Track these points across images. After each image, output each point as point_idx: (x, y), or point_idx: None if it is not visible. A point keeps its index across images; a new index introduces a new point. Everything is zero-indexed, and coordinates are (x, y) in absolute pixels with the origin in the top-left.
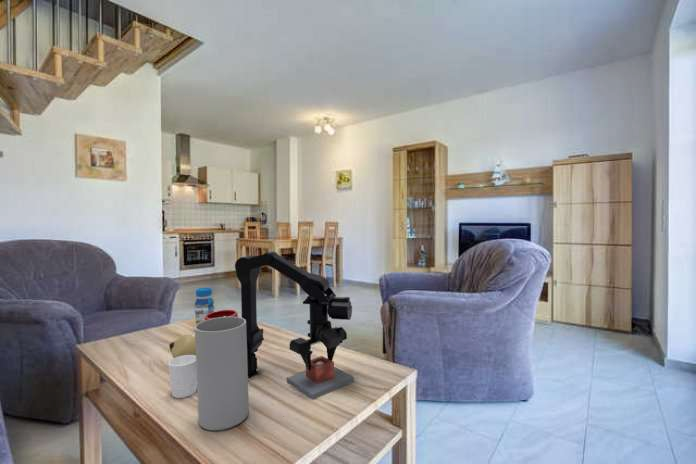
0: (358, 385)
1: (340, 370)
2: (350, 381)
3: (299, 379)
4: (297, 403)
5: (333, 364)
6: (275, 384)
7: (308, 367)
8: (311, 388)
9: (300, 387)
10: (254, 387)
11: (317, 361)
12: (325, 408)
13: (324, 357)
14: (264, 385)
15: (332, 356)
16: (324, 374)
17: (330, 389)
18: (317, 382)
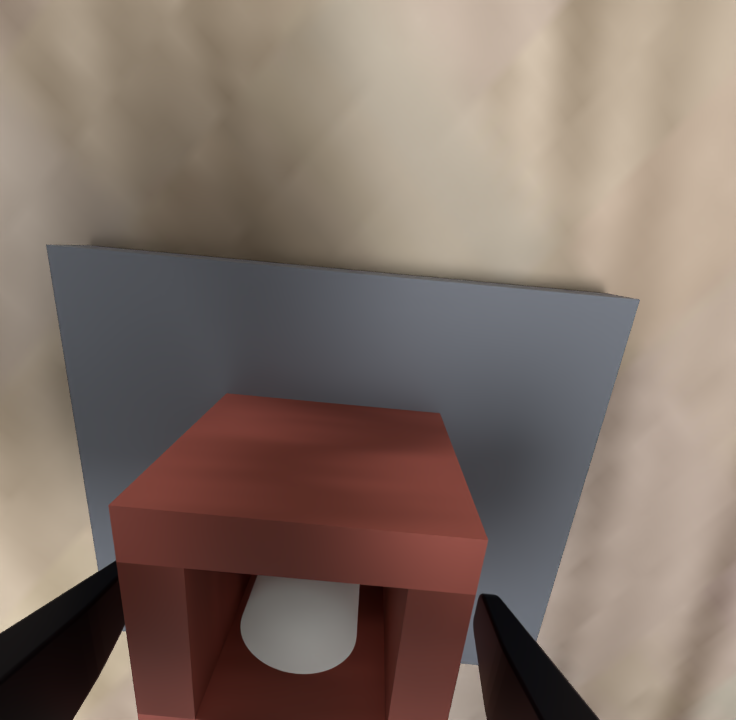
0: (102, 136)
1: (89, 446)
2: (126, 250)
3: (484, 586)
4: (725, 347)
5: (151, 477)
6: (583, 659)
7: (533, 649)
8: (548, 396)
9: (577, 489)
10: (692, 716)
11: (274, 684)
12: (668, 59)
13: (145, 697)
14: (636, 695)
15: (25, 636)
16: (350, 441)
17: (392, 275)
18: (441, 426)
